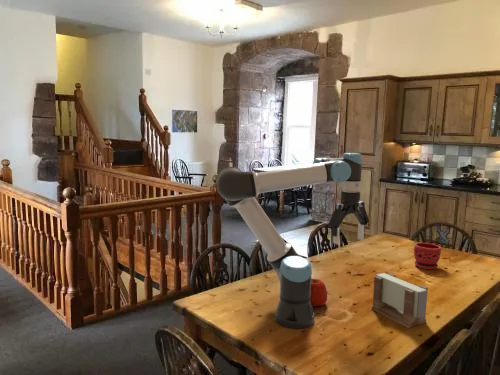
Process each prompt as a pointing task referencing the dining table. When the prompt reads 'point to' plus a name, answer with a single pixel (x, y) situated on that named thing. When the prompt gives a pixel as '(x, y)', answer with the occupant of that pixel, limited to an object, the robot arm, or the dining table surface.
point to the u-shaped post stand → (392, 312)
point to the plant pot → (427, 255)
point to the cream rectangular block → (402, 294)
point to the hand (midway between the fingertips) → (348, 241)
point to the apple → (318, 293)
